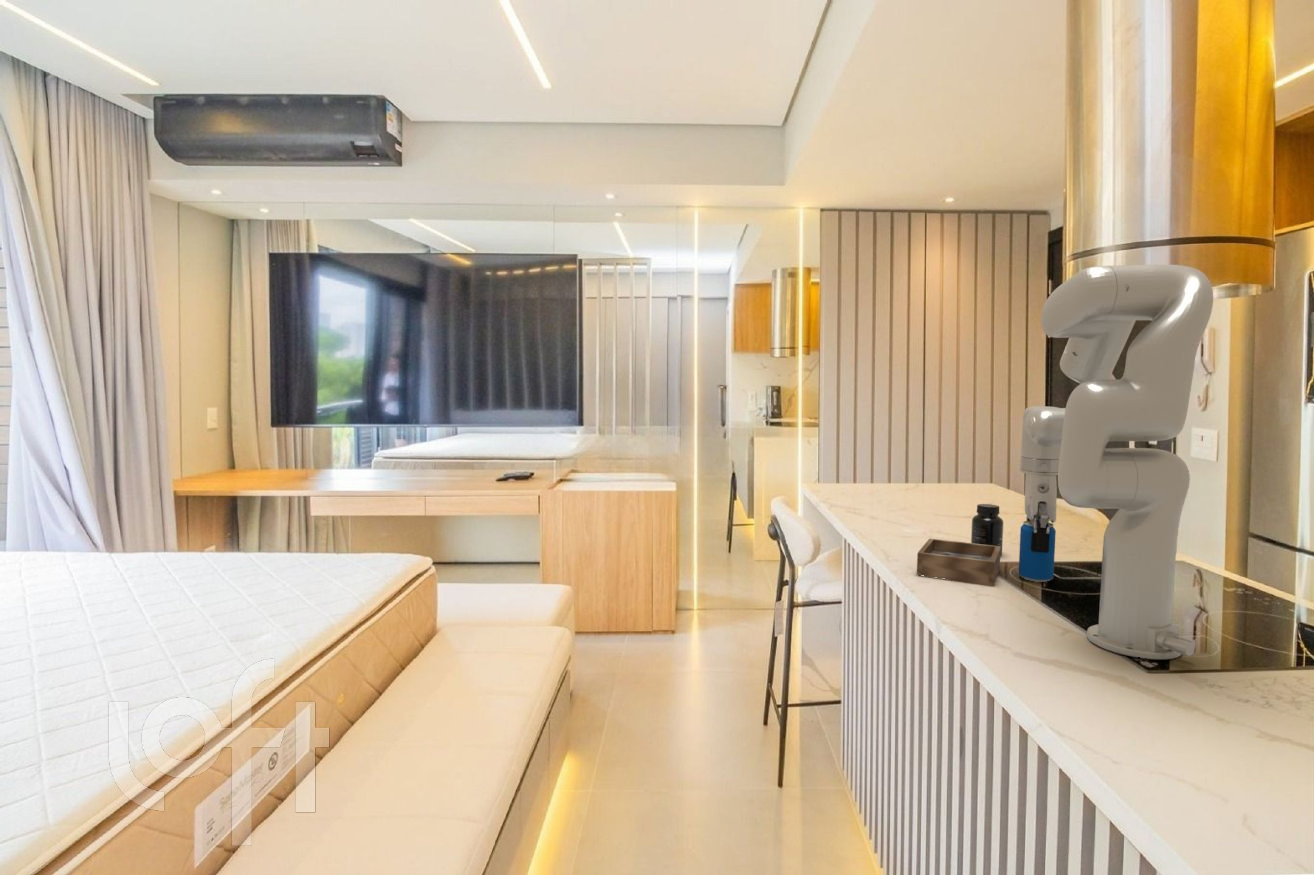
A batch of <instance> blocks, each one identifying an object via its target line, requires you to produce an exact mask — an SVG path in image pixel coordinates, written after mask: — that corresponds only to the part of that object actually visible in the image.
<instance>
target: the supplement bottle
mask: <svg viewBox="0 0 1314 875" xmlns="http://www.w3.org/2000/svg"><path fill="white" fill-rule="evenodd" d="M976 513H977V514H976V515H974V516H973V517H972V519H971V536H970V537H971V538H970V539H971V540H970V543H975V544H984V545H993V546H1001V553H1000V557H1002V554H1003V540H1004V539H1003V536H1004V520H1003V518H1001V517H1000V516H999V515H1000V506H999V505H997V504H993V503H992V504H991V503H990V504H989V503H978V504H977V505H976Z"/></svg>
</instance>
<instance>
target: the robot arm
mask: <svg viewBox="0 0 1314 875" xmlns="http://www.w3.org/2000/svg"><path fill="white" fill-rule="evenodd" d="M1213 290H1214V289H1213V286H1212V283H1211V281H1210V280H1209V278H1208V276H1207V275H1206V274H1205V273H1204V272H1203V271H1201V270H1200V269H1197V268H1196V267H1192V266H1188V265H1187V266H1186V265H1180V264H1135V265H1133V264H1129V265H1097V266H1091V267H1087V268H1084V269H1082V270H1080V271H1078V272H1077V273H1075V274H1074V275H1073V276H1071V277H1070V278H1068V279H1067V280H1066V281H1064V282H1063V283H1062V284H1060V285H1059V286H1058V287H1056V288H1055V289H1054V290H1053V291H1052V292H1051V294H1049V296H1048V297H1047V298H1046V300H1045V302H1044V304H1043V307H1042V310H1041V315H1040V324H1041V328H1042V331H1043V333H1044V334H1045V335H1047V337H1050V338H1055V339H1056V338H1057V339H1059V338H1060V339H1062V338H1063V339H1064V338H1065V339H1066V338H1068V340H1067V343H1066V345H1065V348H1064V350H1063V353H1062V355H1061V358H1060V361H1059V368H1060V370H1061V372H1062V373H1063V374H1064V375H1065V376H1066V377H1068V378H1069V379H1070V380H1072V381H1074V382H1076V383H1078V385H1077V386H1076V387H1075V388H1074V389H1073V391H1071V393H1070V395H1069V396H1068V399H1067V401H1066V406H1065V407H1062V408H1061V407H1057V406H1045V405H1043V406H1042V405H1041V406H1040V405H1038V406H1037V405H1035V406H1029V407H1027V408H1025V409H1024V411H1023V414H1022V426H1021V427H1022V428H1021V432H1022V434H1021V450H1020V464H1019V465H1020V470H1019V471H1020V473H1023V474H1025V482H1024V486H1025V487H1024V513H1025V515H1026V518H1025V519H1026V520H1025V521H1033V532H1032V534H1031V551H1032V552H1043V553H1048V552H1049V538H1050V533H1049V523H1052V524H1055V523H1056V521H1057V500H1058V499H1057V496H1058V495H1057V493H1058V492H1057V491H1058V490H1059V495H1061V497H1062V499H1063V500H1064V501H1065V503H1067V504H1068V505H1070V506H1071V507H1075V508H1080V509H1081V508H1082V509H1098V510H1099V509H1101V510H1102V509H1105V510H1106V509H1110V510H1111V509H1112V510H1114V509H1115V510H1117V511H1116V513H1115V514H1114V515H1113V517H1111V519H1110V521H1109V522H1108V524H1107V525H1106V527H1105V531H1104V534H1103V541H1102V542H1103V543H1102V544H1103V545H1102V556H1101V557H1102V559H1101V577H1100V578H1101V579H1100V593H1099V609H1098V610H1099V611H1098V612H1099V613H1098V624H1094V625H1091V626H1089V627H1088V628H1087V630H1086V638H1087V639H1088V640H1089V641H1090V642H1091V643H1092V644H1094V645H1096V646H1098V647H1099V648H1102V649H1104V650H1107V651H1109V652H1113V653H1116V654H1119V655H1123V656H1129V657H1133V658H1138V657H1140V658H1139V659H1145V658H1146V659H1148V660H1170V659H1171V660H1172V659H1175V658H1176V659H1177V658H1179V657H1180V656H1181V655H1185V656H1187V657H1191V656H1192V655H1194V653H1195V648H1196V645H1197V642H1196V640H1195V639H1192V638H1190V637H1187V636H1186V637H1185V636H1183V635H1182V636H1181V635H1180V633H1179V632H1180V625H1179V624H1176V623H1174V622H1172V620H1173V605H1174V591H1175V590H1174V589H1175V574H1176V573H1175V572H1176V561H1177V560H1176V556H1177V548H1178V536H1179V528H1180V521H1181V516H1182V512H1183V509H1184V505H1185V501H1186V498H1187V495H1188V491H1189V488H1190V480H1191V477H1190V476H1191V474H1190V470H1189V467H1188V466H1187V464H1186V462H1185V461H1184V460H1183V459H1182V457H1180V456H1178V455H1177V454H1175V453H1173V452H1171V451H1169V450H1164V449H1159V448H1149V447H1118V448H1117V447H1116V448H1115V447H1114V448H1113V447H1111V448H1110V447H1109V448H1106V446H1107V444H1108V442H1160V441H1168V440H1172V439H1174V438H1176V437H1177V436H1179V435H1180V433H1181V432H1182V430H1183V429H1184V427H1185V424H1186V420H1187V415H1188V411H1189V410H1188V409H1189V403H1190V396H1191V391H1192V384H1193V379H1194V378H1193V377H1194V370H1195V362H1196V357H1197V353H1198V348H1199V346H1200V344H1201V343H1200V342H1201V340H1202V338H1203V335H1204V333H1205V331H1206V329H1207V327H1208V324H1209V321H1210V318H1211V314H1212V312H1213V307H1214V305H1213V304H1214V292H1213ZM1137 321H1151V322H1150V323H1149V324H1147V325H1146V326H1145V327H1144V328H1143V329H1142V330H1141V331H1140V332H1139V333H1138V334H1137V335H1136V337H1134V339H1133V341H1132V342H1131V343H1130V345H1129V347H1128V348H1127V352H1126V355H1125V356H1126V358H1125V367H1124V370H1123V375H1122V377H1121V378H1119V379H1117V378H1116V377H1115V375H1114V374H1113V371H1114V369H1115V367H1116V365H1117V362H1118V361H1119V359H1120V356H1121V354H1122V352H1123V350H1124V348H1125V346H1126V343H1127V342H1128V341H1127V340H1128V339H1129V337H1130V334H1131V332H1132V330H1133V328H1134V325H1135V324H1136V322H1137ZM1057 484H1058V488H1057ZM1057 489H1058V490H1057ZM1049 521H1050V522H1049Z"/></svg>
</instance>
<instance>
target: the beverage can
mask: <svg viewBox="0 0 1314 875" xmlns="http://www.w3.org/2000/svg"><path fill="white" fill-rule="evenodd" d="M1022 523H1023V524H1022V525H1021V526H1020V534H1019V536H1020V537H1019V555H1018V557H1019V559H1018V575H1019V576H1020V577H1021V578H1022V579H1023V578H1024V579H1026V580H1025V581H1027V580H1031V581H1035V582H1034V583H1038V582H1046V583H1048V582H1047V581H1049V582H1050V581H1051V580H1053V579H1054V571H1055V554H1056V551H1055V548H1056V535H1057V533H1056V529H1055V527H1054V523H1052V522H1049V533H1050V538H1049V552H1048V553H1043V552H1032V551H1031V534H1032V532H1033V521H1027V520H1024V521H1023V522H1022ZM1024 579H1023V580H1024ZM1031 581H1030V582H1031Z"/></svg>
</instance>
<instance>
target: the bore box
mask: <svg viewBox="0 0 1314 875" xmlns="http://www.w3.org/2000/svg"><path fill="white" fill-rule="evenodd" d="M1000 553H1001V546H993V545H984V544H975V543H971V542H965V541H963V542H962V541H956V540H954V541H953V540H947V539H946V540H945V539H937V538H929V539H927V540H926V542H925V543H924V545H922V547H921V548H920V549H919V550H918V552H917V555H916V556H917V557H916V558H917V560H916V561H917V562H916V576H917V575H924V576H928V577H927V578H930V577H937V578H936V579H938V578H945V579H948V580H947V581H952V580H955V581H954V582H960V583H969V584H976V585H982V586H989V587H994V586H995V584H996V581H997V578H998V574H999V572H1000V569H1001V556H1000ZM945 579H944V580H945Z"/></svg>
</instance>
